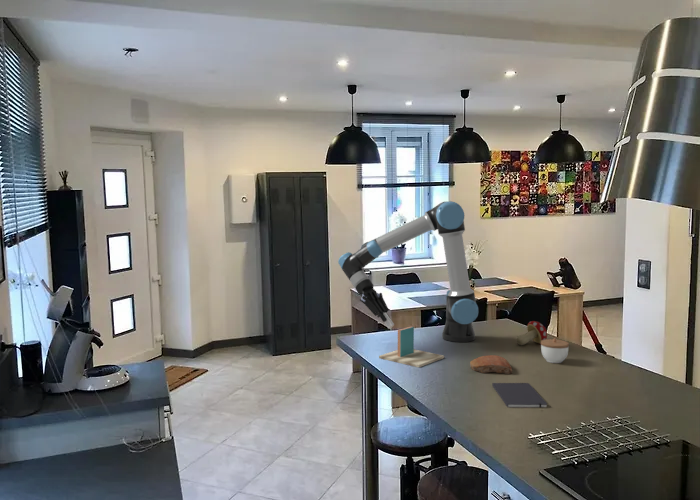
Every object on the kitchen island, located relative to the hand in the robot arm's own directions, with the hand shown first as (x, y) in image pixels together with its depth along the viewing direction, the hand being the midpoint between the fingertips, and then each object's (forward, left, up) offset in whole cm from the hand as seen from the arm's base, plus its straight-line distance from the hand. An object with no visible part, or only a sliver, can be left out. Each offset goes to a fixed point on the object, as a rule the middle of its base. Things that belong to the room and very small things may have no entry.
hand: (391, 326), depth 248 cm
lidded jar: (-66, -2, -12) cm, 67 cm away
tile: (-6, +3, -5) cm, 9 cm away
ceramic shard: (-40, +13, -12) cm, 44 cm away
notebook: (-49, +44, -13) cm, 67 cm away
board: (-9, +5, -12) cm, 16 cm away
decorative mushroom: (-59, -30, -12) cm, 67 cm away
